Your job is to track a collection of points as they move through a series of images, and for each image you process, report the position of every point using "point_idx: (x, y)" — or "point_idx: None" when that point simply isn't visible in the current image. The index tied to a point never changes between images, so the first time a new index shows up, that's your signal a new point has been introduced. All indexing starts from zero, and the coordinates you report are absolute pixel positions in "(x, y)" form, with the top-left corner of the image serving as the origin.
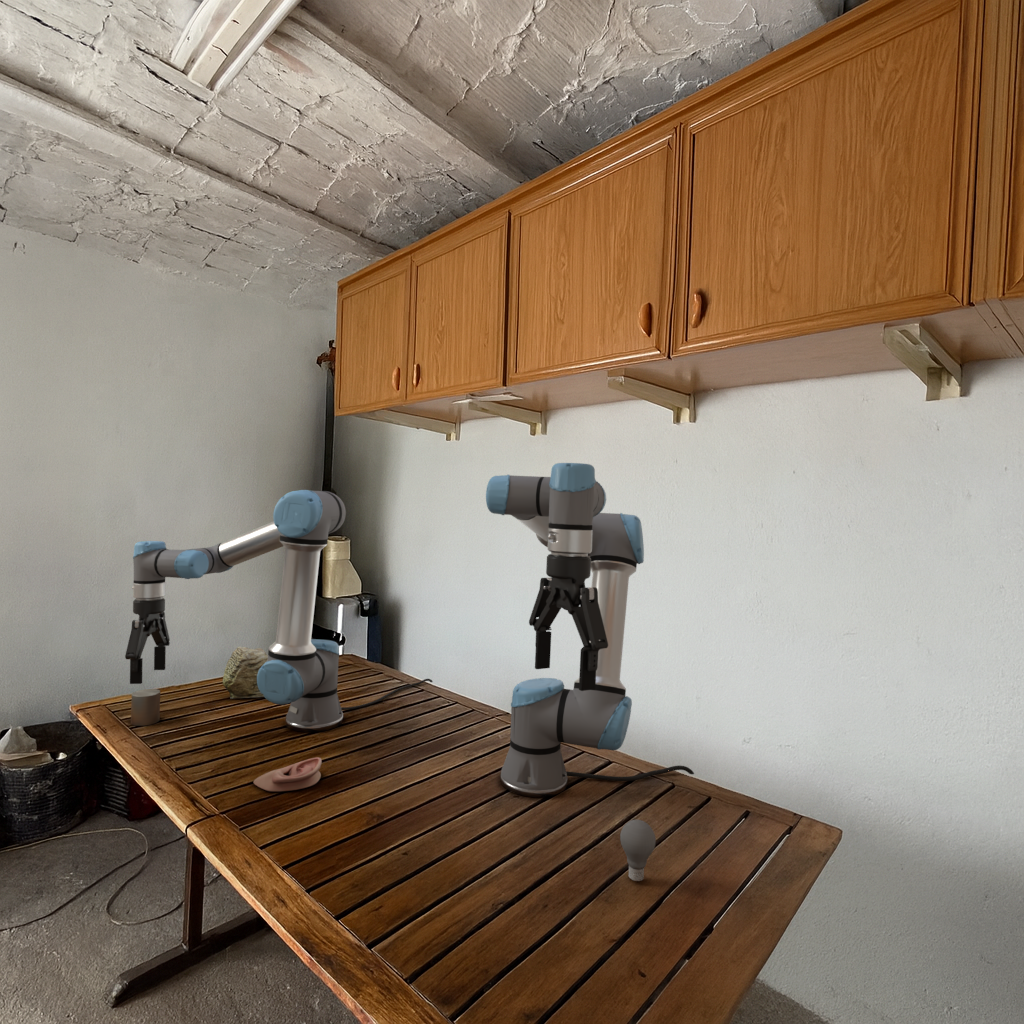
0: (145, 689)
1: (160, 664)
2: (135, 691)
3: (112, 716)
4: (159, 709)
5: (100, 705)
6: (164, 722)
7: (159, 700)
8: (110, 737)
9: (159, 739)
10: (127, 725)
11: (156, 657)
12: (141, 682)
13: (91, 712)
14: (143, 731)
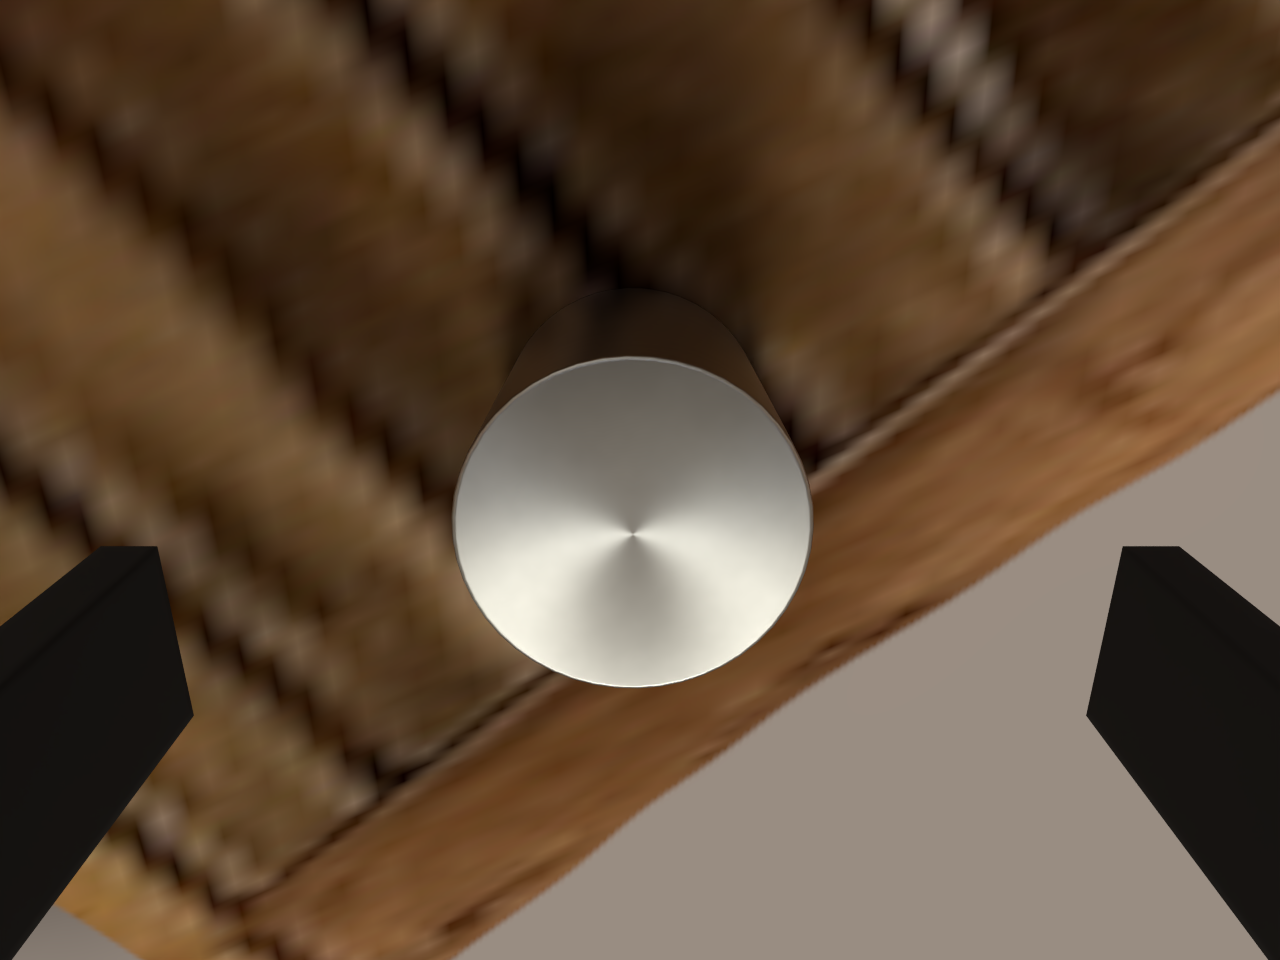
0: (492, 602)
1: (112, 676)
2: (590, 680)
3: (510, 738)
4: (605, 310)
5: (252, 934)
6: (654, 212)
7: (614, 331)
8: (1041, 522)
9: (1171, 38)
10: None
11: (30, 872)
12: (1160, 555)
13: (428, 917)
14: (913, 308)
